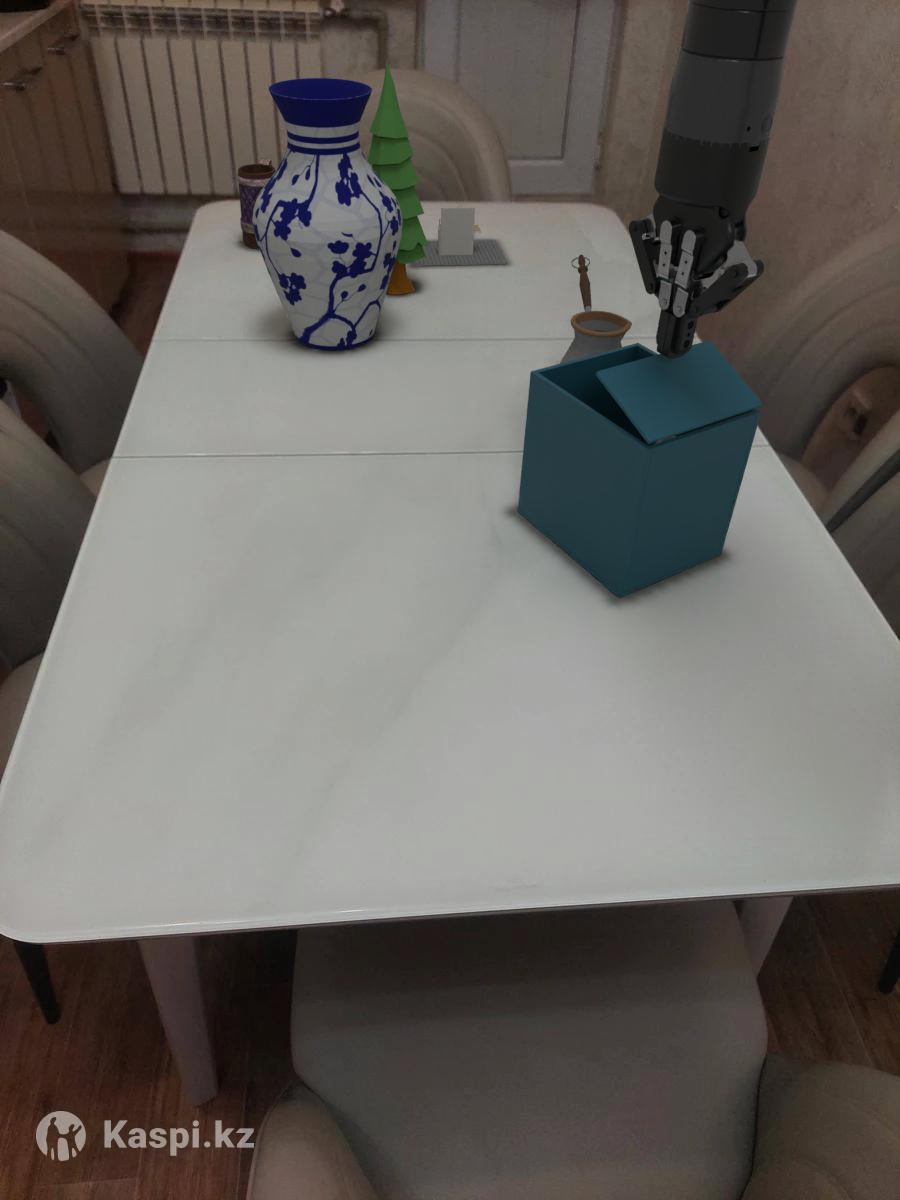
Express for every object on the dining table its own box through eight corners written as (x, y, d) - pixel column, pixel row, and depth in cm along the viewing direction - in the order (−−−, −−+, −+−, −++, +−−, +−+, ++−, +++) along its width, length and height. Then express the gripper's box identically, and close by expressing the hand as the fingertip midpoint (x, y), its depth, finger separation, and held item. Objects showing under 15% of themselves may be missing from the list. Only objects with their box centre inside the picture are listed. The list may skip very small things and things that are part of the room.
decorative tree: (380, 273, 141) (374, 54, 122) (436, 280, 139) (440, 59, 120) (359, 295, 134) (349, 66, 115) (418, 303, 132) (419, 72, 113)
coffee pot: (643, 452, 101) (667, 324, 91) (542, 451, 100) (556, 323, 91) (610, 368, 117) (628, 253, 108) (523, 367, 117) (533, 251, 107)
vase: (268, 368, 115) (239, 107, 95) (262, 310, 129) (236, 72, 109) (413, 359, 118) (414, 105, 98) (392, 303, 132) (389, 71, 112)
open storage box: (721, 555, 86) (761, 411, 76) (618, 598, 81) (648, 450, 71) (614, 477, 97) (638, 342, 87) (517, 511, 91) (530, 371, 81)
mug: (277, 251, 147) (270, 173, 140) (236, 247, 148) (227, 170, 140) (296, 231, 155) (290, 157, 147) (257, 228, 156) (249, 154, 148)
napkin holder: (436, 248, 151) (437, 202, 146) (476, 247, 152) (479, 201, 147) (439, 255, 148) (440, 208, 143) (480, 254, 149) (482, 207, 144)
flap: (761, 406, 76) (763, 403, 76) (648, 444, 71) (650, 441, 71) (707, 342, 79) (709, 339, 79) (595, 374, 74) (596, 371, 73)
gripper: (616, 110, 66) (586, 334, 77) (749, 153, 57) (694, 397, 69) (690, 101, 69) (651, 317, 80) (827, 140, 61) (762, 376, 72)
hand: (671, 354), depth 74 cm, fingers closed
